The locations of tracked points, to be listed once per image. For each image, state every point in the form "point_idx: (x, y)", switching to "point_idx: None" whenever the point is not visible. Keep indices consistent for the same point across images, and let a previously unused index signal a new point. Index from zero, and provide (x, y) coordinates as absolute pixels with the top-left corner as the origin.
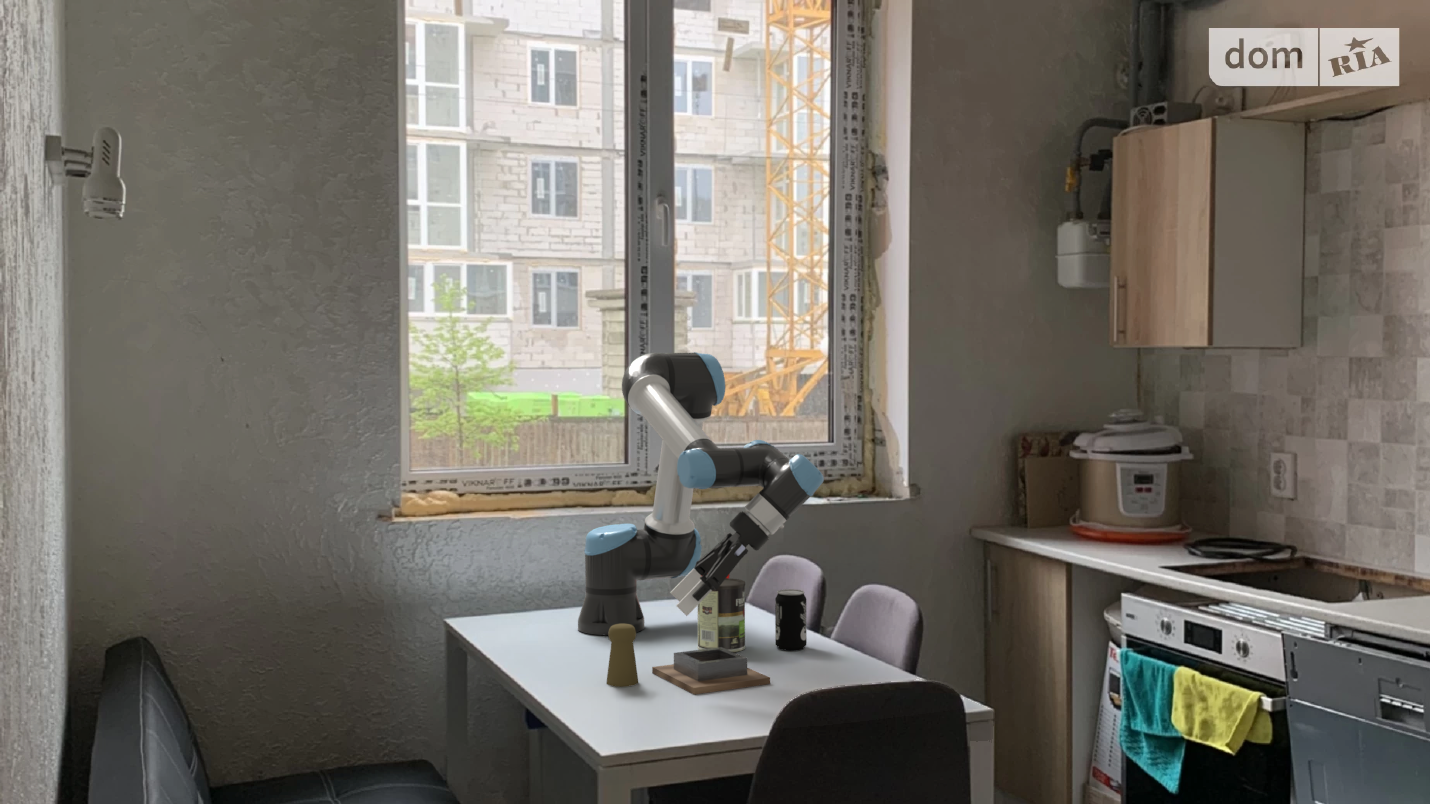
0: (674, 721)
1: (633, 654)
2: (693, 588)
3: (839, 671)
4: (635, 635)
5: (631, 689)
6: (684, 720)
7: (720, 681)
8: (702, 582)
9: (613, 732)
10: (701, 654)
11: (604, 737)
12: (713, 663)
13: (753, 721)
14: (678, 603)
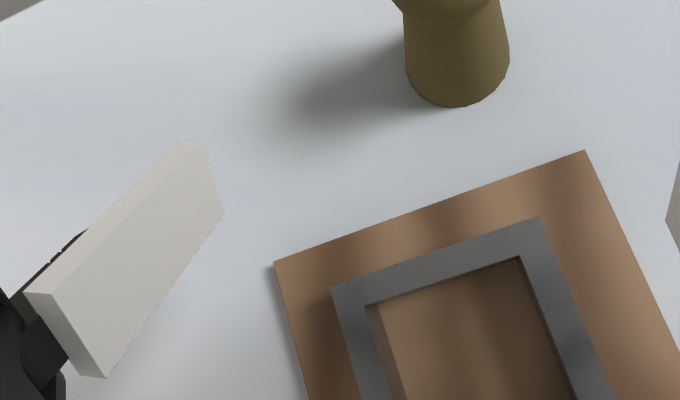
0: (75, 185)
1: (425, 49)
2: (89, 231)
3: None
4: (423, 19)
5: (371, 87)
6: (75, 208)
7: (331, 363)
8: (37, 302)
9: (43, 57)
10: (552, 339)
11: (21, 42)
12: (348, 350)
13: None
14: (179, 151)
